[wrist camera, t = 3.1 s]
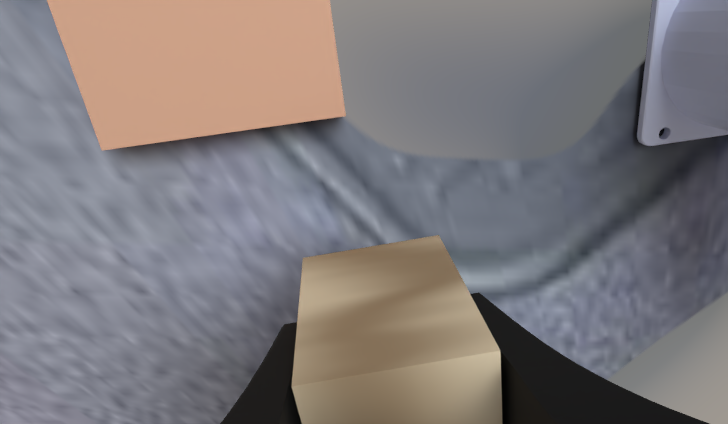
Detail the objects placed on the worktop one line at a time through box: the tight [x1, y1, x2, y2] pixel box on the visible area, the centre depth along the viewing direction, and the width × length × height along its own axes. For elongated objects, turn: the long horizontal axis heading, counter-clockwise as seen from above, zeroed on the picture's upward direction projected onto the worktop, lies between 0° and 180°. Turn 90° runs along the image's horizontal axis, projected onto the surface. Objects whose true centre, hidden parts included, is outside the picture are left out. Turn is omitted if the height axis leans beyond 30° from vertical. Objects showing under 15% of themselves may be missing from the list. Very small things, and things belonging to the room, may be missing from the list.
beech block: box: [292, 235, 503, 424], centre depth 12 cm, size 4×4×5 cm
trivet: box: [47, 0, 346, 150], centre depth 16 cm, size 9×9×2 cm
